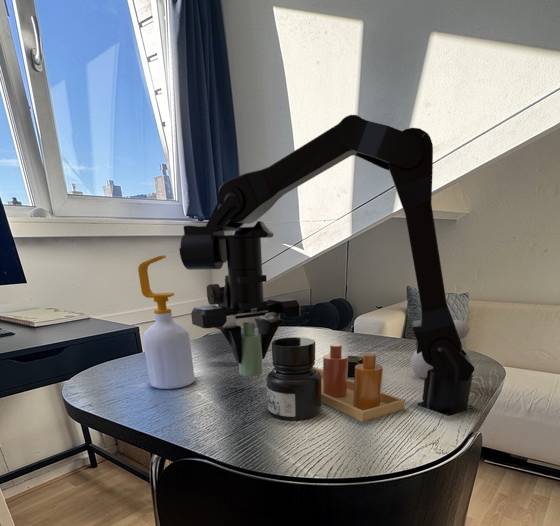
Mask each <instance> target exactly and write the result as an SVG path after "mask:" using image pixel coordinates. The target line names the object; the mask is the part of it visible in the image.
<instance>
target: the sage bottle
mask: <svg viewBox="0 0 560 526" xmlns="http://www.w3.org/2000/svg"><path fill="white" fill-rule="evenodd" d="M241 344H242V360H241V363H240V364H239V363H238V373H239V375H240V376H243V377H256V376H260V375H263V373H264V359H263V358H262V337H261V333H258V331H257V332H255V323H254V322H253V321H246V322H242V332H241Z"/></svg>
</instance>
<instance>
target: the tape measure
mask: <svg viewBox="0 0 560 526" xmlns="http://www.w3.org/2000/svg"><path fill="white" fill-rule="evenodd" d="M347 356H348V376H347V377H355V366H356V365H358V364H363V356H359V355H358V356H357V355H347Z"/></svg>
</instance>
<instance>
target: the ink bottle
mask: <svg viewBox="0 0 560 526" xmlns="http://www.w3.org/2000/svg"><path fill="white" fill-rule="evenodd" d="M271 360H272V366H273V368H272V369H271V371H270V372H268V374H267V376H266V399H267V400H266V401H267V413H268V415H269V416H270V417H272V418H273V419H276V420H280V421H285V422H302V421H307V420H312V419H314V418H317V417H318V416H320V415H321V413H322V403H321V382H322V379H321V375H320V373H319V372H318V371H317V370H316V369H315V368H314V367H315V365H316V340H315V339H312V338H310V337H301V336H299V337H298V336H297V337H296V336H294V337H293V336H291V337H290V336H289V337H282V338H276V339H274V340H273V341H271Z"/></svg>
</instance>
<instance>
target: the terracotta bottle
mask: <svg viewBox="0 0 560 526" xmlns="http://www.w3.org/2000/svg"><path fill="white" fill-rule="evenodd" d="M342 349H343V346H342V344H340V343H333V344H330V345H329V353H327V354H325V355H323V356H322V366H323V367H322V370H323V393H324V394H326V395H329V396H331V397H333V398H340V397H344V396H346V395H347V379H348V377H349V376H348V356H349V355H347V354H344V353H342V351H343V350H342Z"/></svg>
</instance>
